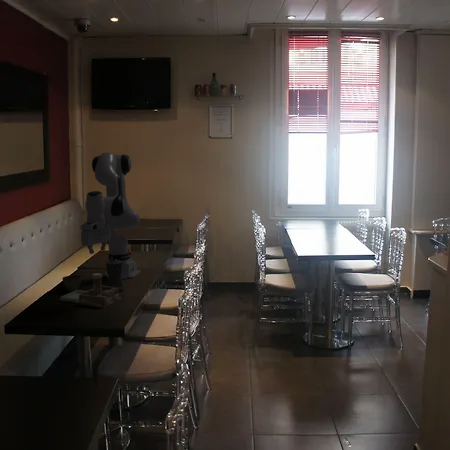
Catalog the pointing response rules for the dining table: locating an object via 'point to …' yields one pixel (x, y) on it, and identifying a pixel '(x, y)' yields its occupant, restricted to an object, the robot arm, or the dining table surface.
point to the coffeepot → (114, 273)
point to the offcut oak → (114, 291)
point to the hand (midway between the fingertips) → (97, 251)
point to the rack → (99, 298)
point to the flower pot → (72, 282)
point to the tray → (72, 296)
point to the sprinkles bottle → (97, 284)
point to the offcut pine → (107, 293)
